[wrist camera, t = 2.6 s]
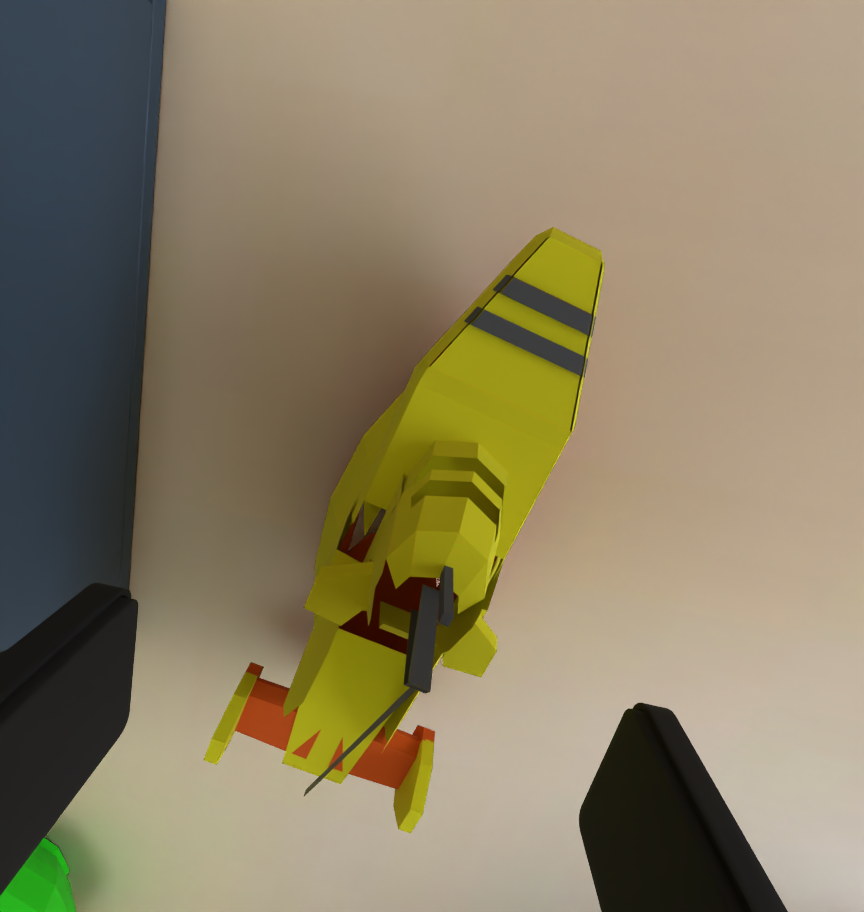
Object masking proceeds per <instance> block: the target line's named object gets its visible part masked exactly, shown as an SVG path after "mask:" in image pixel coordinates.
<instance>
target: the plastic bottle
mask: <svg viewBox="0 0 864 912" xmlns="http://www.w3.org/2000/svg"><path fill="white" fill-rule="evenodd" d="M68 873H69V868H68V866H67V864H66V862H65V860H64V858H63V856H62V854H61V852H60V850H59V848H58V847H57V846H56V845H54V844H53V843H51V842H50V841H48V840H47V839H45V838H43V839H42V841H41V842H40V843H39V845H38V846H37V847H36V849H35V850H34V851H33V853H32V854H31V855H30V857H29V858H28V860H27V861H26V862H25V864H24V865H23V866H22V868H21V869H20V870H19V872H18V873H17V874H16V876H15V877H14V878H13V880H12V881H11V882H10V884H9V885H8V886H7V888H6V889H5V890H4V892H3V893H2V894H1V896H0V912H76V907H75V904H74V900H73V897H72V892H71V887H70V883H69V881H68V879H67V875H68Z"/></svg>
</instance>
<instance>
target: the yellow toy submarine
mask: <svg viewBox="0 0 864 912" xmlns="http://www.w3.org/2000/svg"><path fill="white" fill-rule="evenodd" d="M603 274H604V262H603V259H602V253H601V251H600V250H598V249H596V248H594V247H592V246H590V245H588V244H586V243H584V242H582V241H580V240H578V239H576V238H574V237H572V236H570V235H568V234H566V233H564V232H562V231H560V230H558V229H556V228H554V227H553V228H550V229H548V230H546V231H544V232H542V233H540V234H538V235H536V236H535V237H534V238H533V239H532V240H531V241H530V242H529V243H528V244H527V245H526V246H525V247H524V248H523V249H522V250H521V252H520V253H519V254H518V255H517V256H516V257H515V258H514V259H513V260H512V261H511V262H510V263H509V264H508V265H507V267H506V268H505V269H504V270H503V271H502V272H501V273H500V274H499V275H498V276H497V278H496V279H495V280H494V281H493V282H492V283H491V284H490V285H489V286H488V287H487V289H486V290H485V291H484V292H483V293H482V294H481V295H480V296H479V297H478V298H477V300H476V301H475V302H474V303H473V304H472V305H471V306H470V307H469V308H468V310H467V311H466V312H465V313H464V314H463V315H462V316H461V317H460V318H459V319H458V320H457V321H456V322H455V324H454V325H453V326H452V327H451V328H450V329H449V330H448V331H447V332H446V333H445V334H444V335H443V336H442V337H441V338H440V339H439V340H438V342H437V343H436V344H435V345H434V346H433V347H432V348H431V349H430V350H429V351H428V353H427V354H426V355H425V356H424V357H423V358H422V359H421V360H420V362H419V363H418V364H417V365H416V366H415V368H414V370H413V372H412V375H411V377H410V379H409V382H408V384H407V386H406V389H405V390H404V391H403V392H402V393H401V394H400V396H399V397H398V398H397V399H396V400H395V401H394V402H393V403H392V404H391V405H390V407H389V408H388V409H387V410H386V411H385V412H384V413H383V414H382V415H381V416H380V418H379V419H378V420H377V421H376V422H375V423H374V424H373V425H372V426H371V427H370V429H369V430H368V431H367V432H366V433H365V434H364V435H363V437H362V439H361V441H360V443H359V445H358V447H357V449H356V450H355V452H354V454H353V456H352V458H351V460H350V462H349V464H348V466H347V468H346V469H345V471H344V473H343V475H342V477H341V479H340V481H339V483H338V485H337V487H336V488H335V490H334V492H333V494H332V496H331V498H330V502H329V506H328V510H327V514H326V519H325V523H324V527H323V531H322V535H321V540H320V544H319V548H318V552H317V557H316V561H315V582H314V584H313V587H312V589H311V592H310V594H309V596H308V599H307V601H306V603H305V606H304V608H305V609H307V610H309V611H311V612H313V613H314V628H313V630H312V633H311V635H310V638H309V641H308V643H307V646H306V648H305V651H304V653H303V656H302V659H301V661H300V664H299V666H298V669H297V672H296V674H295V677H294V679H293V682H292V684H291V687H290V688H287V687H284V686H281V685H278V684H275V683H272V682H270V681H267V680H264V679H261V678H259V677H260V675H261V672H262V670H263V668H264V667H263V666H260V665H257V664H255V663H252V662H251V663H250V665H249V667H248V669H247V670H246V672H245V674H244V676H243V678H242V680H241V682H240V683H239V685H238V687H237V689H236V691H235V693H234V695H233V697H232V699H231V701H230V703H229V705H228V707H227V709H226V711H225V713H224V715H223V717H222V719H221V721H220V723H219V725H218V727H217V729H216V731H215V733H214V735H213V737H212V739H211V742H210V745H209V747H208V750H207V752H206V755H205V757H204V761H207V762H210V763H213V764H216V765H217V763H218V762H219V760H220V758H221V756H222V755H223V753H224V751H225V750H226V748H227V746H228V744H229V742H230V740H231V738H232V736H233V734H234V732H235V731H237V732H240V733H242V734H245V735H247V736H250V737H252V738H255V739H257V740H260V741H262V742H265V743H267V744H270V745H272V746H275V747H277V748H279V749H282V750H284V751H286V752H285V756H284V759H283V762H282V763H283V764H286V765H289V766H292V767H294V768H297V769H300V770H303V771H306V772H308V773H311V774H314V775H317V776H319V777H318V778H317V779H316V780H315V781H314V782H313V783H312V784H311V785H310V786H309V787H308V788H307V789H306V791H305V794H304V796H305V795H306V794H307V793H308V792H309V791H310V790H311V789H312V788H313V787H314V786H316V785H317V784H318V783H319V782H320V781H321V780H322V779H323V778H325V779H328V780H331V781H333V782H336V783H339V784H341V783H342V782H343V780H344V779H345V777H346V776H347V775H348V774H351V775H354V776H357V777H360V778H364V779H367V780H370V781H373V782H376V783H379V784H382V785H386V786H389V787H392V788H395V796H394V811H395V816H396V820H397V825H398V829H400V830H402V831H405V832H408V833H411V832H412V830H413V829H414V827H415V826H416V824H417V822H418V821H419V819H420V818H421V816H422V814H423V810H424V805H425V801H426V796H427V791H428V786H429V781H430V776H431V772H432V766H433V751H434V737H435V731H432V730H430V729H427V728H424V727H422V726H419V725H418V726H417V727H416V729H415V731H414V733H413V735H411V734H408V733H406V732H403V731H401V730H398V729H397V728H398V726H399V725H400V723H401V721H402V720H403V718H404V717H405V715H406V713H407V712H408V710H409V708H410V707H411V705H412V704H413V702H414V700H415V699H416V697H417V695H418V694H419V692H420V691H421V692H423V693H428V692H430V689H431V679H432V671H433V670H434V668H435V666H436V665H437V663H438V661H439V660H440V658H441V657H442V655H443V666H444V667H448V668H451V669H455V670H458V671H461V672H465V673H468V674H472V675H475V676H478V677H482V675H483V673H484V672H485V670H486V668H487V667H488V665H489V663H490V662H491V660H492V658H493V657H494V655H495V653H496V652H497V637H496V635H495V634H494V633H493V631H492V630H491V629H490V628H489V626H488V625H487V624H486V622H485V621H484V620H483V617H484V615H485V614H486V612H487V610H488V607H489V604H490V601H491V598H492V595H493V592H494V589H495V586H496V583H497V579H498V576H499V573H500V570H501V567H502V563H503V561H504V559H505V557H506V555H507V554H508V552H509V550H510V548H511V546H512V544H513V542H514V540H515V539H516V537H517V535H518V533H519V531H520V529H521V527H522V525H523V524H524V522H525V520H526V518H527V516H528V514H529V512H530V510H531V509H532V507H533V505H534V503H535V501H536V499H537V497H538V495H539V494H540V492H541V490H542V488H543V486H544V484H545V482H546V480H547V479H548V477H549V475H550V473H551V471H552V469H553V467H554V465H555V463H556V462H557V460H558V458H559V456H560V454H561V452H562V450H563V448H564V447H565V445H566V443H567V441H568V439H569V437H570V435H571V433H572V432H573V430H574V428H575V423H576V417H577V412H578V407H579V401H580V396H581V391H582V386H583V380H584V377H585V372H586V367H587V361H588V354H589V348H590V343H591V338H592V335H593V329H594V324H595V319H596V317H595V316H596V311H597V306H598V301H599V295H600V290H601V285H602V279H603ZM363 503H364V537H365V535H366V533H367V532H368V530H369V528H370V527H371V525H372V523H373V522H374V520H375V518H376V517H377V515H378V513H379V512H380V510H381V509H385V510H387V511H386V513H385V515H384V517H383V519H382V522H381V524H380V526H379V528H378V530H377V532H376V534H374V533H370V534H369V535H368V536H366V537H365V538H364V539H363V540H362V541H360V542H359V543H358V544H357V545H355V546H354V547H353V548H352V549H351V550H349V551H348V549H349V546H350V542H351V539H352V536H353V532H354V529H355V526H356V522H357V519H358V516H359V512H360V509H361V506H362V504H363ZM436 578H440V584H439V585H438V587H436Z"/></svg>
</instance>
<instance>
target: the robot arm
mask: <svg viewBox="0 0 864 912" xmlns="http://www.w3.org/2000/svg"><path fill="white" fill-rule="evenodd" d="M137 617H138V602H137V600H135V599H131V593H130V591H129V590H128V589H125V588H120V587H116V586H111V585H107V584H102V583H98V582H97V583H92V584H90V585H89V586H87V587H86V588H85V589H83V590H82V591H81V592H80V593H78V594H77V595H76V596H75V597H73V598H72V599H71V600H70V601H68V602H67V603H66V604H65V605H63V606H62V607H61V608H59V609H58V610H57V611H56V612H54V613H53V614H52V615H51V616H49V617H48V618H47V619H46V620H44V621H43V622H42V623H40V624H39V625H38V626H37V627H35V628H34V629H33V630H32V631H30V632H29V633H28V634H27V635H25V636H24V637H23V638H22V639H20V640H19V641H18V642H16V643H15V644H14V645H13V646H11V647H10V648H9V649H8V650H4V651H2V652H0V896H1V894H2V893H3V892H4V890H5V889H6V888H7V886H8V885H9V884H10V882H11V881H12V880H13V878H14V877H15V876H16V874H17V873H18V872H19V870H20V869H21V868H22V866H23V865H24V864H25V862H26V861H27V860H28V858H29V857H30V855H31V854H32V853H33V851H34V850H35V849H36V847H37V846H38V845H39V843H40V842H41V841H42V839H43V838H44V837H45V835H46V834H47V833H48V831H49V830H50V829H51V827H52V826H53V825H54V823H55V822H56V821H57V819H58V818H59V817H60V815H61V814H62V813H63V811H64V810H65V809H66V807H67V806H68V805H69V803H70V802H71V801H72V799H73V798H74V797H75V795H76V794H77V793H78V791H79V790H80V789H81V787H82V786H83V785H84V783H85V782H86V781H87V779H88V778H89V777H90V775H91V774H92V773H93V771H94V770H95V769H96V767H97V766H98V765H99V763H100V762H101V761H102V759H103V758H104V757H105V755H106V754H107V753H108V751H109V750H110V749H111V747H112V746H113V745H114V743H115V742H116V741H117V739H118V738H119V736H120V735H121V733H122V732H123V730H124V728H125V726H126V723H127V720H128V717H129V712H130V700H131V688H132V676H133V664H134V653H135V641H136V629H137ZM579 826H580V832H581V836H582V839H583V843H584V847H585V851H586V855H587V858H588V862H589V866H590V870H591V873H592V877H593V881H594V885H595V888H596V892H597V896H598V900H599V904H600V907H601V911H602V912H788V911H787V910H786V908H785V906H784V904H783V903H782V901H781V899H780V897H779V896H778V894H777V892H776V890H775V889H774V887H773V885H772V883H771V882H770V880H769V878H768V876H767V875H766V873H765V871H764V869H763V868H762V866H761V864H760V862H759V861H758V859H757V857H756V855H755V854H754V852H753V850H752V849H751V847H750V845H749V843H748V842H747V840H746V838H745V836H744V835H743V833H742V831H741V829H740V828H739V826H738V824H737V822H736V821H735V819H734V817H733V815H732V814H731V812H730V810H729V808H728V807H727V805H726V803H725V801H724V800H723V798H722V796H721V794H720V793H719V791H718V789H717V787H716V786H715V784H714V782H713V780H712V779H711V777H710V775H709V773H708V772H707V770H706V768H705V766H704V765H703V763H702V761H701V760H700V758H699V756H698V754H697V753H696V751H695V749H694V747H693V746H692V744H691V742H690V740H689V739H688V737H687V735H686V733H685V732H684V730H683V728H682V726H681V725H680V723H679V721H678V719H677V718H676V716H675V715H674V713H673V712H672V711H671V710H669V709H667V708H662V707H658V706H653V705H649V704H644V703H637V704H636V705H635V706H634V707H633V709H627V710H626V711H625V713H624V714H623V717H622V719H621V721H620V723H619V725H618V727H617V730H616V732H615V734H614V736H613V738H612V741H611V743H610V745H609V747H608V749H607V752H606V754H605V756H604V758H603V760H602V762H601V765H600V767H599V769H598V771H597V773H596V776H595V778H594V780H593V782H592V784H591V786H590V789H589V791H588V793H587V795H586V797H585V800H584V802H583V804H582V806H581V809H580V814H579Z"/></svg>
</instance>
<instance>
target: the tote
mask: <svg viewBox="0 0 864 912" xmlns="http://www.w3.org/2000/svg"><path fill="white" fill-rule="evenodd" d="M165 8H166V0H0V652H2V651H4V650H8V649H9V648H10V647H11V646H13V645H14V644H15V643H16V642H18V641H19V640H20V639H22V638H23V637H24V636H25V635H27V634H28V633H29V632H30V631H32V630H33V629H34V628H35V627H37V626H38V625H39V624H40V623H42V622H43V621H44V620H46V619H47V618H48V617H49V616H51V615H52V614H53V613H54V612H56V611H57V610H58V609H59V608H61V607H62V606H63V605H65V604H66V603H67V602H68V601H70V600H71V599H72V598H73V597H75V596H76V595H77V594H78V593H80V592H81V591H82V590H83V589H85V588H86V587H87V586H89V585H90V584H92V583H97V582H98V583H102V584H107V585H111V586H116V587H120V588H125V589H129V573H130V558H131V542H132V526H133V511H134V495H135V479H136V463H137V448H138V432H139V416H140V401H141V385H142V369H143V354H144V338H145V322H146V306H147V291H148V275H149V259H150V244H151V228H152V212H153V197H154V181H155V165H156V149H157V134H158V118H159V102H160V87H161V71H162V55H163V40H164V24H165Z"/></svg>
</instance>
